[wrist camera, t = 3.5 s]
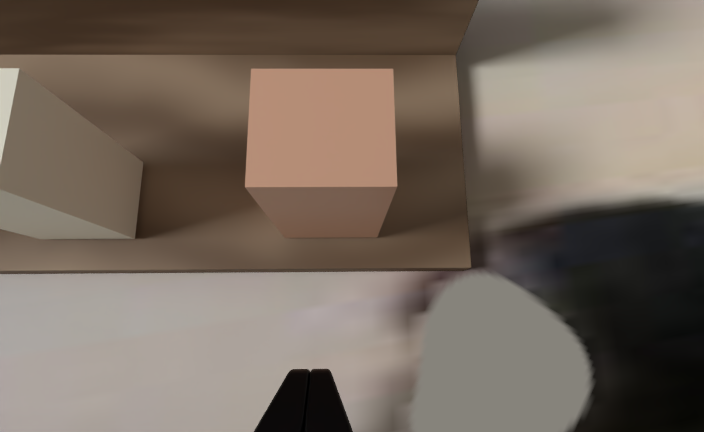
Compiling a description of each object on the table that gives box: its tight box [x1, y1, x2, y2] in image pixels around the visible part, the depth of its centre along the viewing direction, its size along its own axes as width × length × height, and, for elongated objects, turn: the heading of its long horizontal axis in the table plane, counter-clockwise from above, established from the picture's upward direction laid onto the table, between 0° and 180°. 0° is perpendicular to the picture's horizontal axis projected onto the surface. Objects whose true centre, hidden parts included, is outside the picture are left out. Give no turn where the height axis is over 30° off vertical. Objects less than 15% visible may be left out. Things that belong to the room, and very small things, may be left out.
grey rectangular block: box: [0, 68, 143, 239], centre depth 17 cm, size 4×5×8 cm
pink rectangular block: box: [245, 69, 397, 238], centre depth 17 cm, size 4×5×8 cm
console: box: [0, 0, 479, 274], centre depth 17 cm, size 15×38×14 cm, turn 90°
